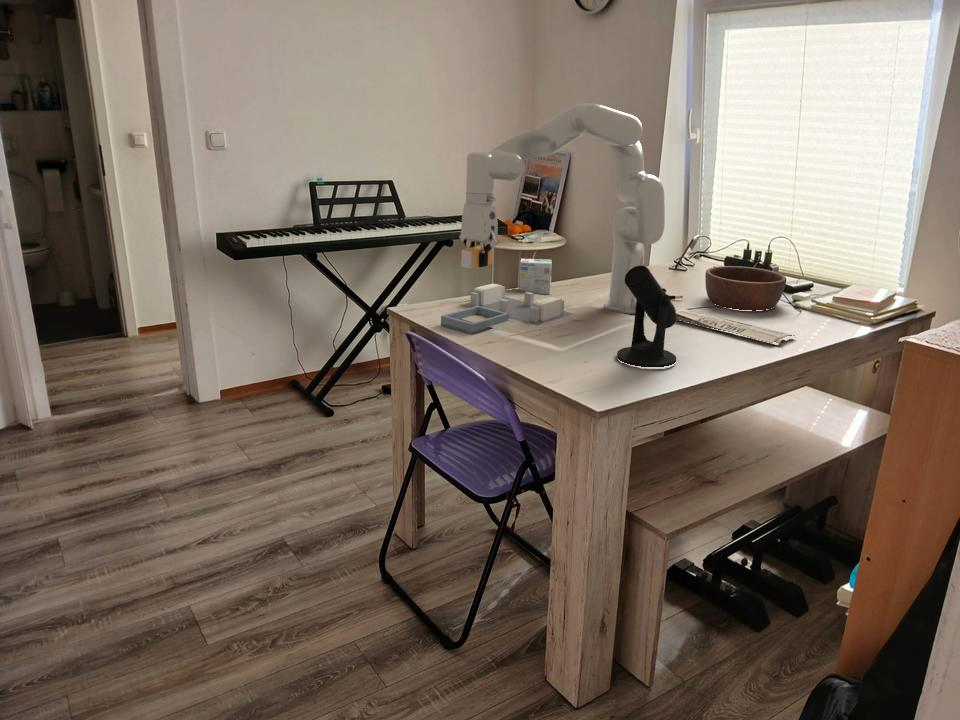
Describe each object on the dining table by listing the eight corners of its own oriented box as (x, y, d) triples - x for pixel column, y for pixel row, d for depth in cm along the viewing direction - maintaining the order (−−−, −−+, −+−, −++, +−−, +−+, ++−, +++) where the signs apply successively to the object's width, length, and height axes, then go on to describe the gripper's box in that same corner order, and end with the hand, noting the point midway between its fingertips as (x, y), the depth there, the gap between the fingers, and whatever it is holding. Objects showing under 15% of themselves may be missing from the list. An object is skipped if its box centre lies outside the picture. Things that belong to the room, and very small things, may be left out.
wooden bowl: (749, 293, 268) (753, 264, 264) (798, 312, 245) (804, 280, 242) (687, 297, 260) (690, 267, 257) (732, 317, 238) (736, 284, 234)
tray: (508, 323, 224) (509, 313, 223) (472, 335, 213) (472, 324, 212) (477, 315, 232) (478, 305, 231) (440, 325, 220) (441, 315, 219)
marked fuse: (493, 264, 219) (494, 246, 218) (470, 269, 212) (470, 251, 211) (484, 262, 222) (485, 244, 220) (460, 267, 214) (461, 249, 213)
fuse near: (561, 314, 231) (562, 298, 229) (541, 321, 224) (542, 304, 222) (551, 312, 233) (552, 296, 232) (531, 318, 226) (532, 302, 224)
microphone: (600, 357, 198) (608, 261, 189) (647, 347, 207) (657, 255, 199) (643, 375, 186) (653, 273, 178) (690, 362, 196) (702, 266, 187)
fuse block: (573, 316, 233) (574, 300, 231) (537, 328, 220) (538, 311, 219) (497, 298, 252) (498, 283, 250) (460, 308, 239) (460, 292, 237)
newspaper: (794, 341, 217) (796, 329, 216) (774, 350, 209) (776, 337, 208) (684, 314, 241) (685, 303, 240) (662, 321, 232) (663, 310, 231)
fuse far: (502, 300, 245) (502, 285, 243) (481, 306, 238) (482, 290, 236) (493, 298, 247) (494, 283, 246) (473, 303, 240) (473, 288, 238)
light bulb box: (550, 290, 264) (552, 259, 260) (550, 295, 258) (552, 263, 254) (519, 288, 265) (520, 257, 261) (518, 293, 259) (519, 261, 255)
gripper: (511, 201, 208) (508, 268, 214) (466, 194, 219) (464, 258, 225) (493, 203, 203) (491, 272, 209) (448, 196, 213) (447, 262, 219)
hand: (477, 264), depth 217 cm, fingers closed on marked fuse, 3 cm apart
